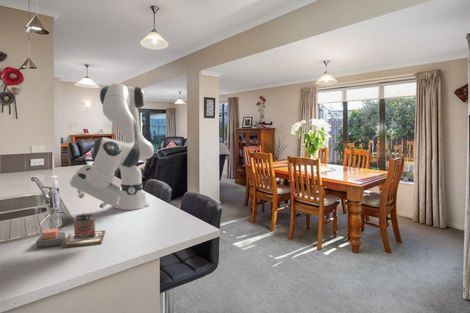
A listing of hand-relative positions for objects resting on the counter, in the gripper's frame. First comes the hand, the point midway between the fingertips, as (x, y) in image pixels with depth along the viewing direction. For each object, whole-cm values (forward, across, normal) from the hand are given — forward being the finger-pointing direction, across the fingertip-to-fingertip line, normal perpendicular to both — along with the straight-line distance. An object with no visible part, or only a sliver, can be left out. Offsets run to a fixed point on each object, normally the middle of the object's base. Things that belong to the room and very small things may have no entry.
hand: (91, 202), depth 119 cm
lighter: (+11, -5, +8) cm, 15 cm away
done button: (+14, +6, +13) cm, 20 cm away
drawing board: (+12, -6, +9) cm, 16 cm away
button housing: (+16, +5, +13) cm, 21 cm away
